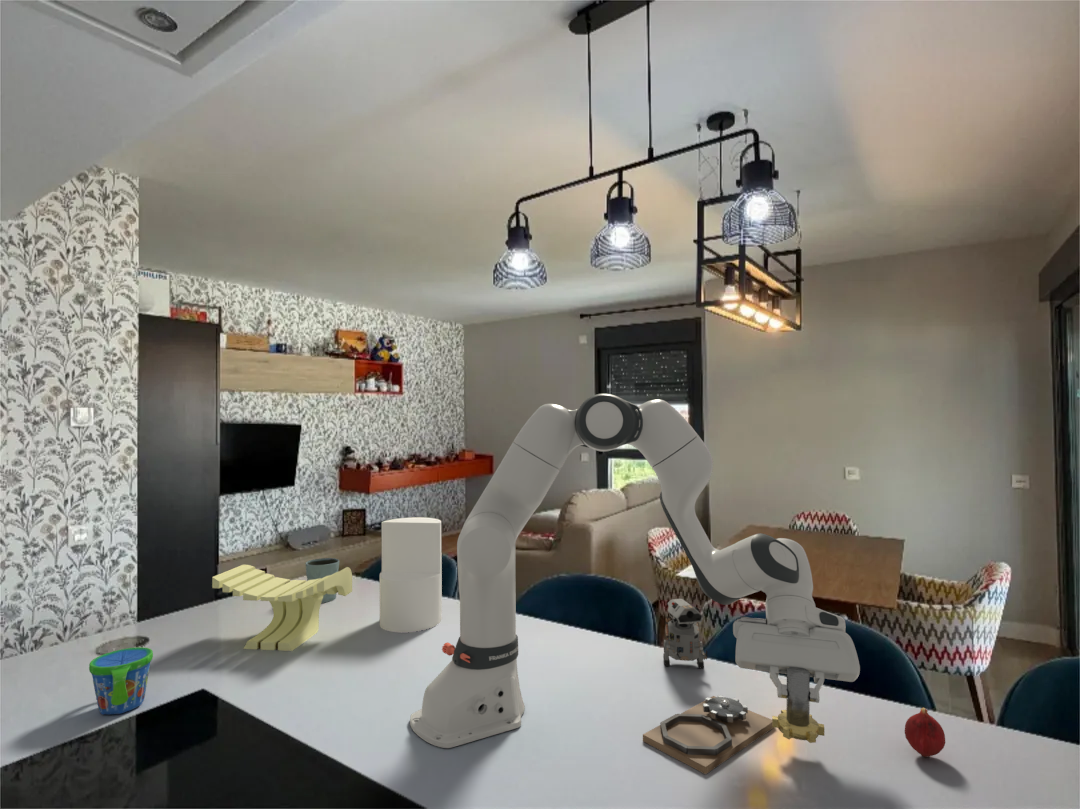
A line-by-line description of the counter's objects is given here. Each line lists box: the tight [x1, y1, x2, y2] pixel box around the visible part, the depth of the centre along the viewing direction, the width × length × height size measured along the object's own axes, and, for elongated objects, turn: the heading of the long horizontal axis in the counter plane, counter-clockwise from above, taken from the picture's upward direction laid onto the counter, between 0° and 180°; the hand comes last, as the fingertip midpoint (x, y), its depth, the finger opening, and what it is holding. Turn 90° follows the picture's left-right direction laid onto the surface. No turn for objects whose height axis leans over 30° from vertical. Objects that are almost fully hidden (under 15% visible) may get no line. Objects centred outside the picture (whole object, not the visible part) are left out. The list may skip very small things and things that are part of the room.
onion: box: [904, 707, 946, 758], centre depth 101 cm, size 6×6×8 cm
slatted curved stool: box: [211, 564, 353, 652], centre depth 157 cm, size 30×16×18 cm, turn 83°
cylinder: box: [379, 516, 443, 634], centre depth 169 cm, size 17×17×28 cm
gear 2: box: [771, 667, 825, 744], centre depth 101 cm, size 8×8×10 cm
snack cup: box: [88, 646, 154, 715], centre depth 120 cm, size 16×10×10 cm
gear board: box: [642, 695, 775, 775], centre depth 108 cm, size 22×13×2 cm, turn 130°
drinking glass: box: [305, 557, 340, 604], centre depth 191 cm, size 10×10×12 cm
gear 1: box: [703, 694, 749, 722], centre depth 111 cm, size 8×8×3 cm
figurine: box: [662, 597, 709, 669], centre depth 136 cm, size 9×12×15 cm
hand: (798, 699), depth 101 cm, fingers closed on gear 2, 4 cm apart
